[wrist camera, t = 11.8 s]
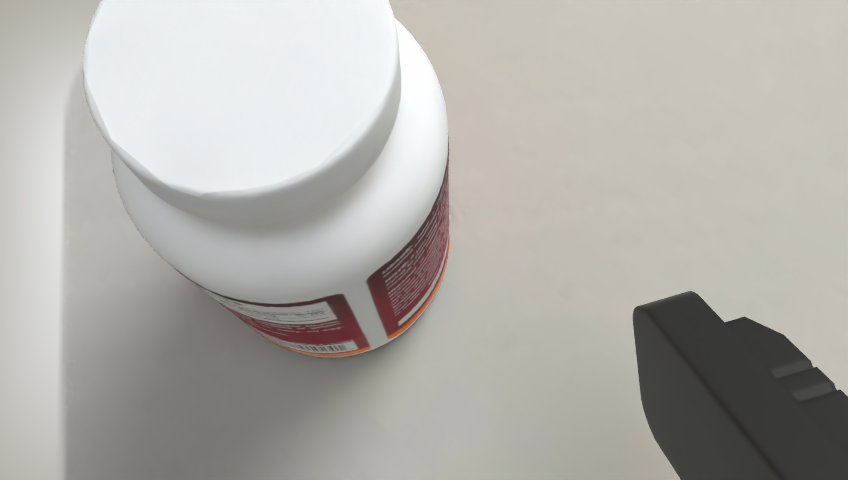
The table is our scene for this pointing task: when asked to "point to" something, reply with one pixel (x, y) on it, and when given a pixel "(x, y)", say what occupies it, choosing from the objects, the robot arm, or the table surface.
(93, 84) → the pill bottle
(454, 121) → the table surface
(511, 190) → the table surface
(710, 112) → the table surface
